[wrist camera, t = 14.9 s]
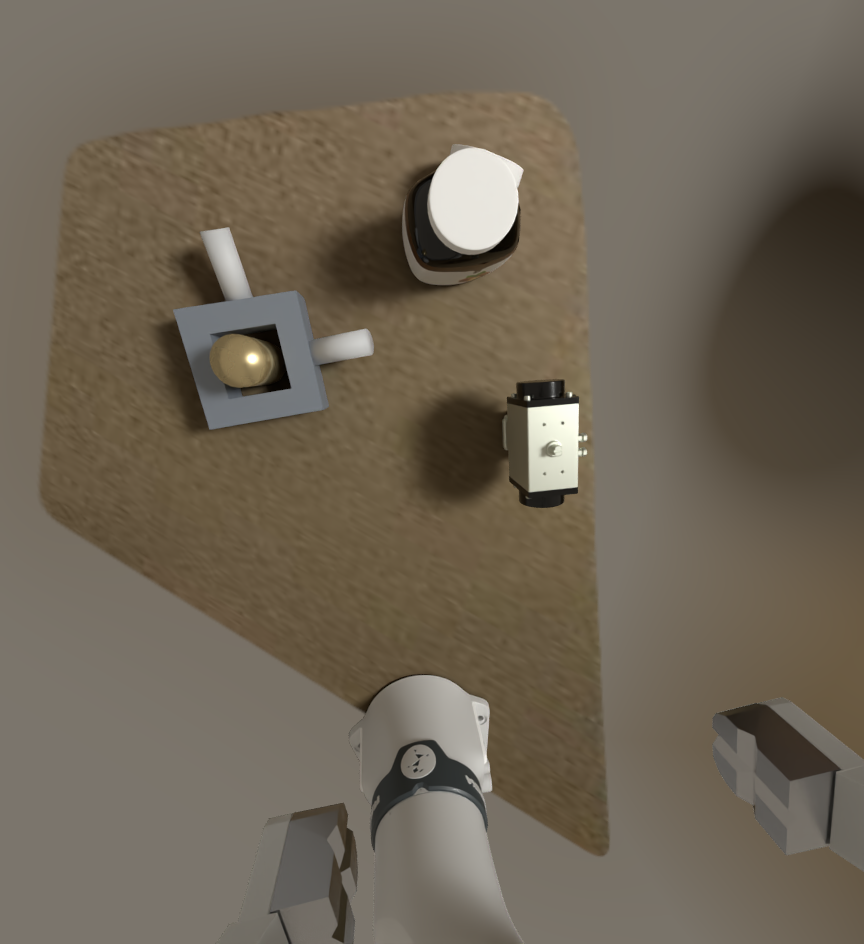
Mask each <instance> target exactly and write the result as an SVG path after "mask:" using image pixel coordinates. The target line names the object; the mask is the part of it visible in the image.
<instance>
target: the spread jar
mask: <svg viewBox="0 0 864 944" xmlns="http://www.w3.org/2000/svg"><path fill="white" fill-rule="evenodd" d="M522 173H523V169H522V168H521V167H520V166H519V165H517V164H515V163H514V162H512V161H510V160H508V159H505V158H503V157H501V156H498V155H496V154H494V153H492V152H489V151H487V150H485V149H479V148H475V147H471V146H466V145H460V144H454V145H452V148H451V152H450V156H448V157H447V158H446V159H445V160H444V161H443V162H442V163H441V164H440V166H439V167H438V168H437V170H436V171H434V172H432V173H430V174H428V175H427V176H425V177H423V178H421V179H420V180H419V181H417V182H416V183H415V184H414V185H413V186H412V187H411V188H410V190H409V192H408V194H407V196H406V199H405V202H404V207H403V216H402V235H403V243H404V249H405V253H406V257H407V260H408V263H409V266H410V268H411V270H412V272H413V274H414V275H415V277H416V278H417V279H419V280H420V281H422V282H424V283H428V284H433V285H455V284H461V283H465V282H468V281H472V280H474V279H477V278H479V277H482V276H484V275H486V274H488V273H490V272H492V271H494V270H495V269H497V268H498V267H500V266H501V265H502V264H503V263H504V262H505V261H507V260H508V259H509V258H510V257H511V256H512V254H513V253H514V251H515V250H516V248H517V245H518V242H519V236H520V206H519V201H518V190H517V188H518V186H519V182H520V179H521V176H522Z"/></svg>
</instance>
